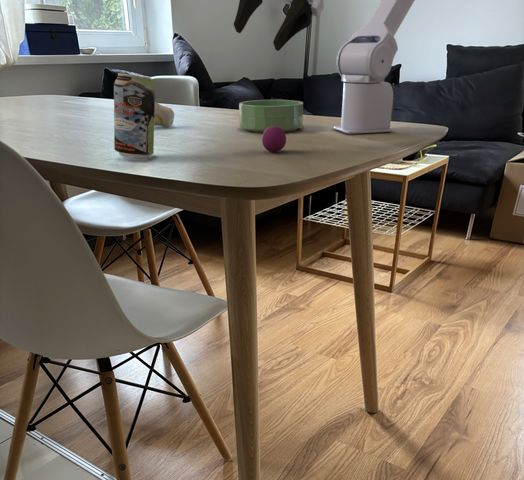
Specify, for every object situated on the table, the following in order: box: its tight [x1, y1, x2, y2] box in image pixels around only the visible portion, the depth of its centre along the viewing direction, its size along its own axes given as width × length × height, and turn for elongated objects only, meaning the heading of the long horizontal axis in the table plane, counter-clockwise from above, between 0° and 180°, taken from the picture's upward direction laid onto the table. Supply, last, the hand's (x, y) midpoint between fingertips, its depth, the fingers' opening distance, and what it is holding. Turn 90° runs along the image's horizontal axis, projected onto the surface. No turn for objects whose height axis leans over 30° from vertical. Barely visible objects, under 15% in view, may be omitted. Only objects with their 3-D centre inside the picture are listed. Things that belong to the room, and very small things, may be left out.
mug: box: [154, 101, 175, 128], centre depth 110 cm, size 8×10×10 cm
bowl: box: [238, 99, 304, 134], centre depth 107 cm, size 13×13×5 cm
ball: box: [261, 126, 287, 153], centre depth 84 cm, size 4×4×4 cm
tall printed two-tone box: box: [113, 72, 156, 159], centre depth 79 cm, size 6×7×12 cm
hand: (256, 37), depth 83 cm, fingers open, 7 cm apart
